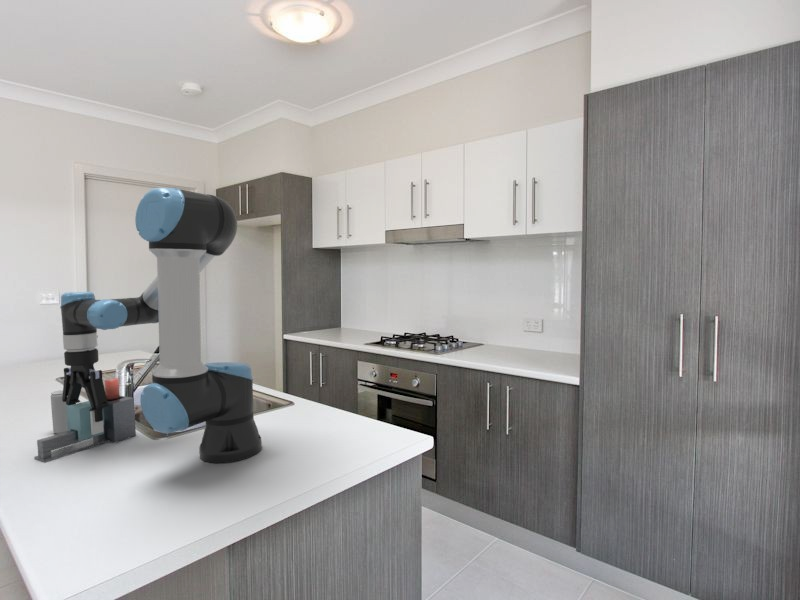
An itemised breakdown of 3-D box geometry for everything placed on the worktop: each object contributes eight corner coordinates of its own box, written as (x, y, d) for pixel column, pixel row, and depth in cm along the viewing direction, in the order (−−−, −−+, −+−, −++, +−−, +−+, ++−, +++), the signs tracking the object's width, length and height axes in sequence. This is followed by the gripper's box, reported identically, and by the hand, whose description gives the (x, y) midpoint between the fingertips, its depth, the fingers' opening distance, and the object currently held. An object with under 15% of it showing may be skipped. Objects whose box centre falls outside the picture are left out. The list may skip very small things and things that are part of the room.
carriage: (104, 433, 127) (102, 403, 126) (81, 441, 121) (79, 409, 121) (91, 430, 130) (89, 400, 129) (68, 437, 124) (65, 406, 124)
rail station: (135, 435, 133) (133, 397, 132) (50, 464, 113) (47, 420, 113) (115, 430, 137) (112, 394, 137) (29, 457, 118) (26, 415, 117)
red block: (122, 396, 132) (121, 378, 132) (110, 399, 129) (109, 381, 129) (115, 395, 134) (114, 377, 134) (103, 398, 131) (102, 380, 131)
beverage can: (62, 434, 135) (59, 394, 134) (48, 433, 136) (46, 393, 135) (77, 429, 139) (74, 390, 139) (63, 428, 140) (61, 389, 140)
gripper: (120, 349, 122) (125, 431, 124) (73, 344, 133) (77, 420, 134) (90, 354, 116) (95, 441, 117) (43, 349, 126) (48, 428, 127)
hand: (86, 430), depth 125 cm, fingers open, 10 cm apart
